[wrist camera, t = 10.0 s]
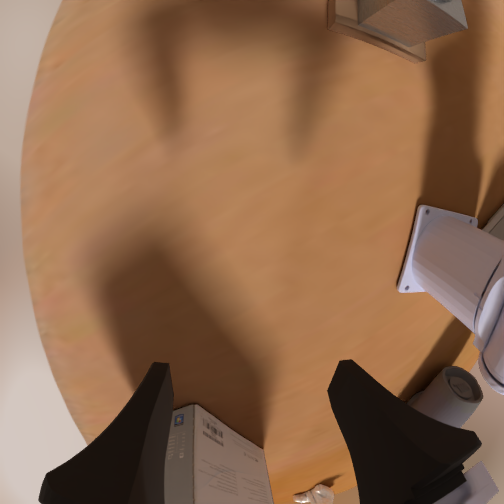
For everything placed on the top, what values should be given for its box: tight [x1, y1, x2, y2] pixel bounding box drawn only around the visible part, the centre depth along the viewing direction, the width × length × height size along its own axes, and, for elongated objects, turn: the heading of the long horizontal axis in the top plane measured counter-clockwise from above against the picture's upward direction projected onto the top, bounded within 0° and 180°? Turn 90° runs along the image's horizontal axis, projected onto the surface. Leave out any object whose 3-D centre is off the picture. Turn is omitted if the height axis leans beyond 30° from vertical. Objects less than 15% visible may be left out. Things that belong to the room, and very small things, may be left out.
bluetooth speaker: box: [406, 366, 483, 428], centre depth 27 cm, size 23×9×10 cm, turn 165°
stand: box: [328, 0, 426, 63], centre depth 12 cm, size 8×9×2 cm
